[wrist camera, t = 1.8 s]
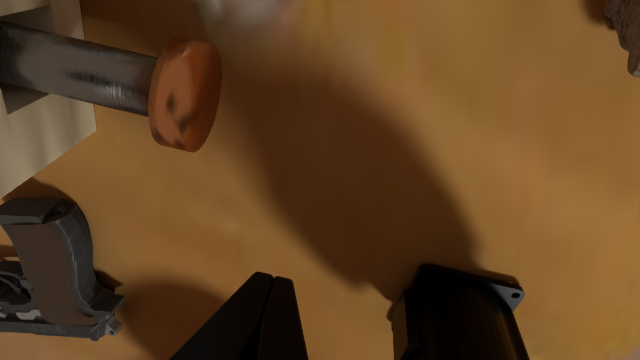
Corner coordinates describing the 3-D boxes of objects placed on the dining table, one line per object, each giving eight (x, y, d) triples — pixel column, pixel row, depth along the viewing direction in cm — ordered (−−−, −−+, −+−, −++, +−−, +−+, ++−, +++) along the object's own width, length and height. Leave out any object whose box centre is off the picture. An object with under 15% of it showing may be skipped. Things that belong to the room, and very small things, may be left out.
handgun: (-173, 217, 26) (-67, 339, 32) (51, 215, 22) (126, 354, 28) (-123, 195, 29) (-33, 311, 34) (86, 189, 25) (149, 321, 30)
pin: (224, 32, 16) (180, 62, 13) (218, 125, 19) (180, 172, 15) (-59, -36, 16) (-186, -26, 13) (-28, 66, 19) (-127, 99, 15)
